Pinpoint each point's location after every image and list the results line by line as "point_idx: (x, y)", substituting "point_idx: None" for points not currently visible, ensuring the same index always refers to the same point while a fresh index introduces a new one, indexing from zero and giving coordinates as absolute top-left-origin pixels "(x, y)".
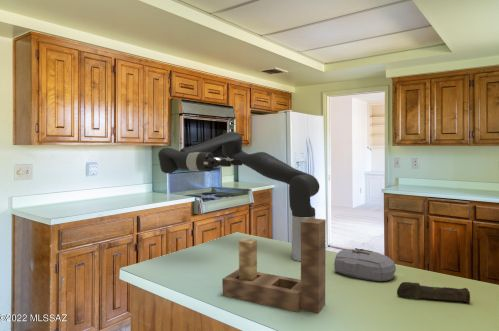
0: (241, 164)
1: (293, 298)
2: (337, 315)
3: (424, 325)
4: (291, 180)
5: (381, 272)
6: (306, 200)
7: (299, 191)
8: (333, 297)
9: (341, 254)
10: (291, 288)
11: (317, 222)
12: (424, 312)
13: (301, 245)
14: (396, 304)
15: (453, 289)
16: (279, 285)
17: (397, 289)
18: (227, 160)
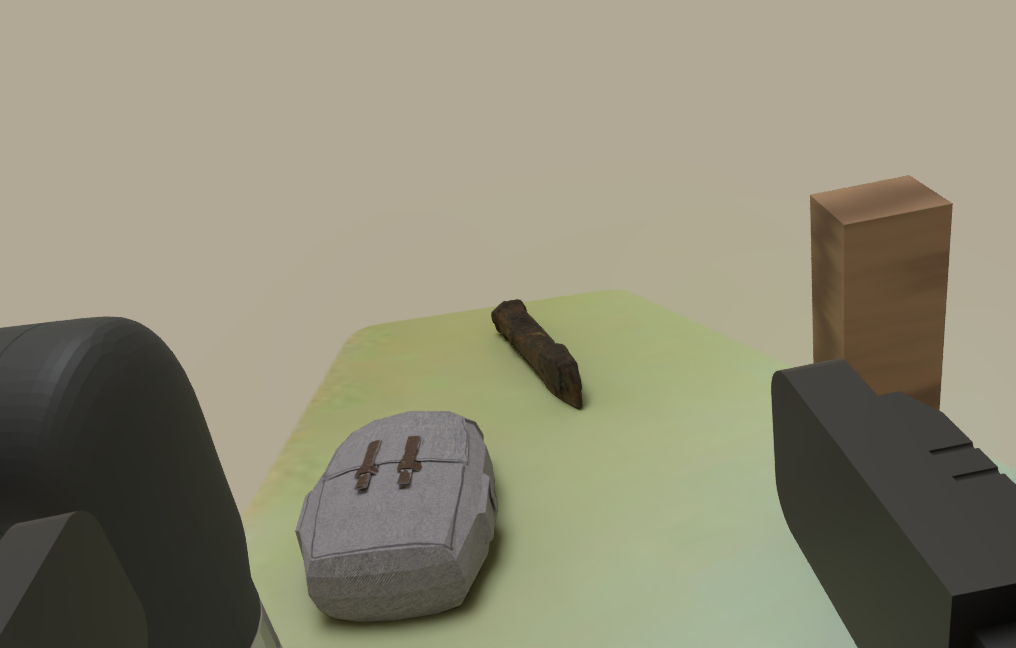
0: (142, 609)
1: None
2: None
3: (721, 337)
4: (71, 427)
5: (480, 435)
6: (223, 471)
7: (184, 446)
8: (735, 508)
9: (430, 524)
10: None
11: (895, 183)
12: (646, 354)
13: (944, 303)
14: (643, 395)
15: (522, 314)
16: None
17: (577, 391)
18: (843, 422)
